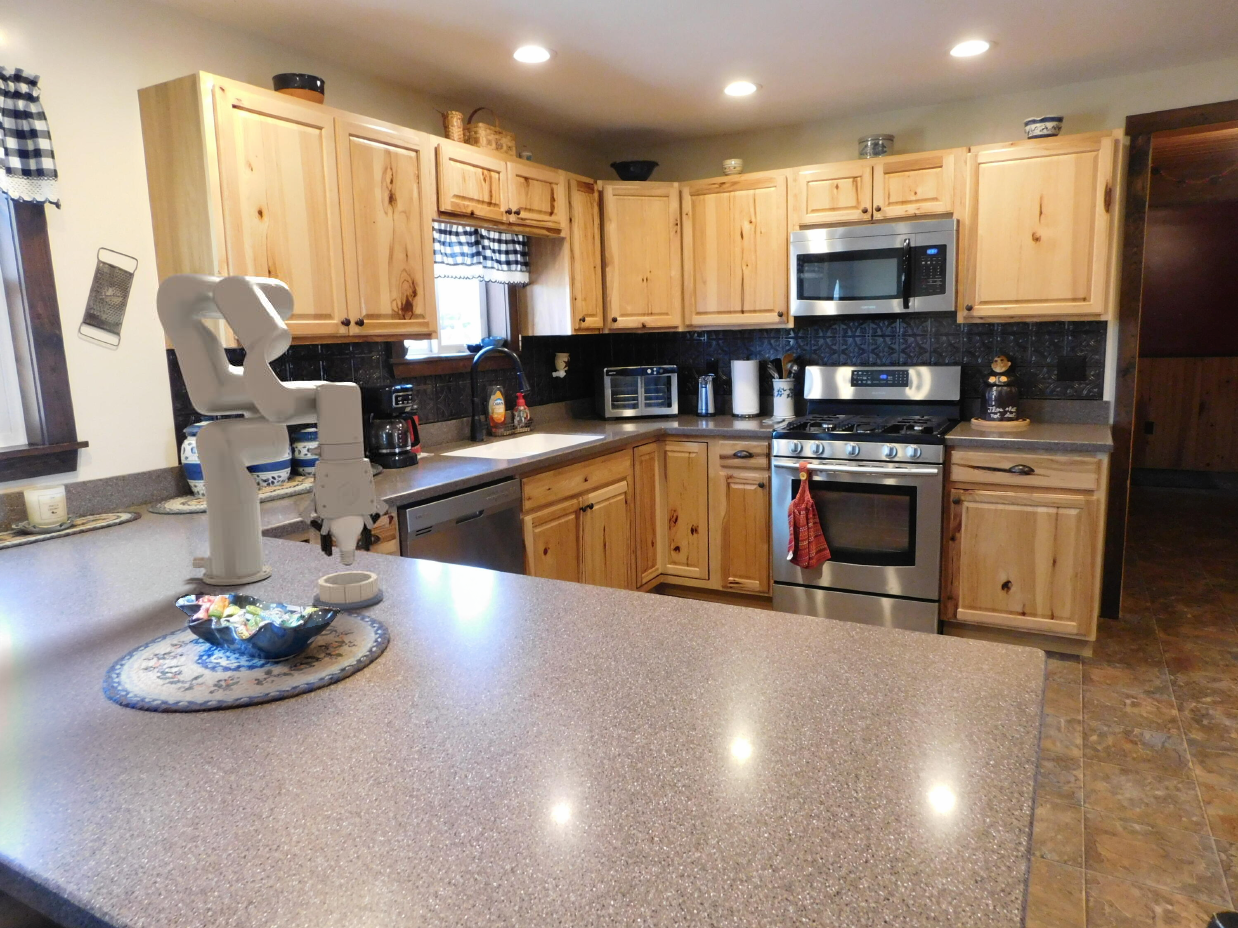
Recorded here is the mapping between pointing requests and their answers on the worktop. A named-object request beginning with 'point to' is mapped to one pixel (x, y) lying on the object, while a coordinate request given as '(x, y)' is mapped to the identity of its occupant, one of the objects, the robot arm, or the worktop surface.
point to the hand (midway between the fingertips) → (347, 551)
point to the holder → (348, 590)
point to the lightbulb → (346, 536)
